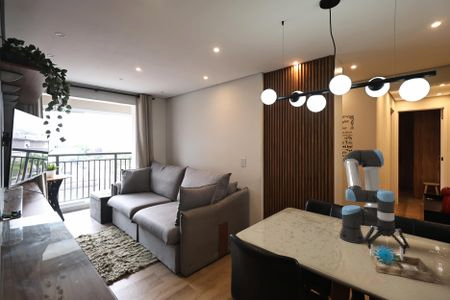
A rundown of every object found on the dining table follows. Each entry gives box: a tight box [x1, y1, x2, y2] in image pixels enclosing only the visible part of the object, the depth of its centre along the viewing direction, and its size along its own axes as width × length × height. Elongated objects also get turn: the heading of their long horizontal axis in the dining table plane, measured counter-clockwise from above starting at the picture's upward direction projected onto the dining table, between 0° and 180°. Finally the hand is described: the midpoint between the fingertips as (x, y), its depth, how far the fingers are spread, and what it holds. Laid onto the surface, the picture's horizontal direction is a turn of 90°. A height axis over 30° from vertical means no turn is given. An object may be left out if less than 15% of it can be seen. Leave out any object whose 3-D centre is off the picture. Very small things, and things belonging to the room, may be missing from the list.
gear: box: [373, 244, 399, 264], centre depth 119 cm, size 11×6×10 cm
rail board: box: [369, 254, 434, 283], centre depth 116 cm, size 23×16×4 cm
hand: (386, 256), depth 118 cm, fingers open, 13 cm apart
